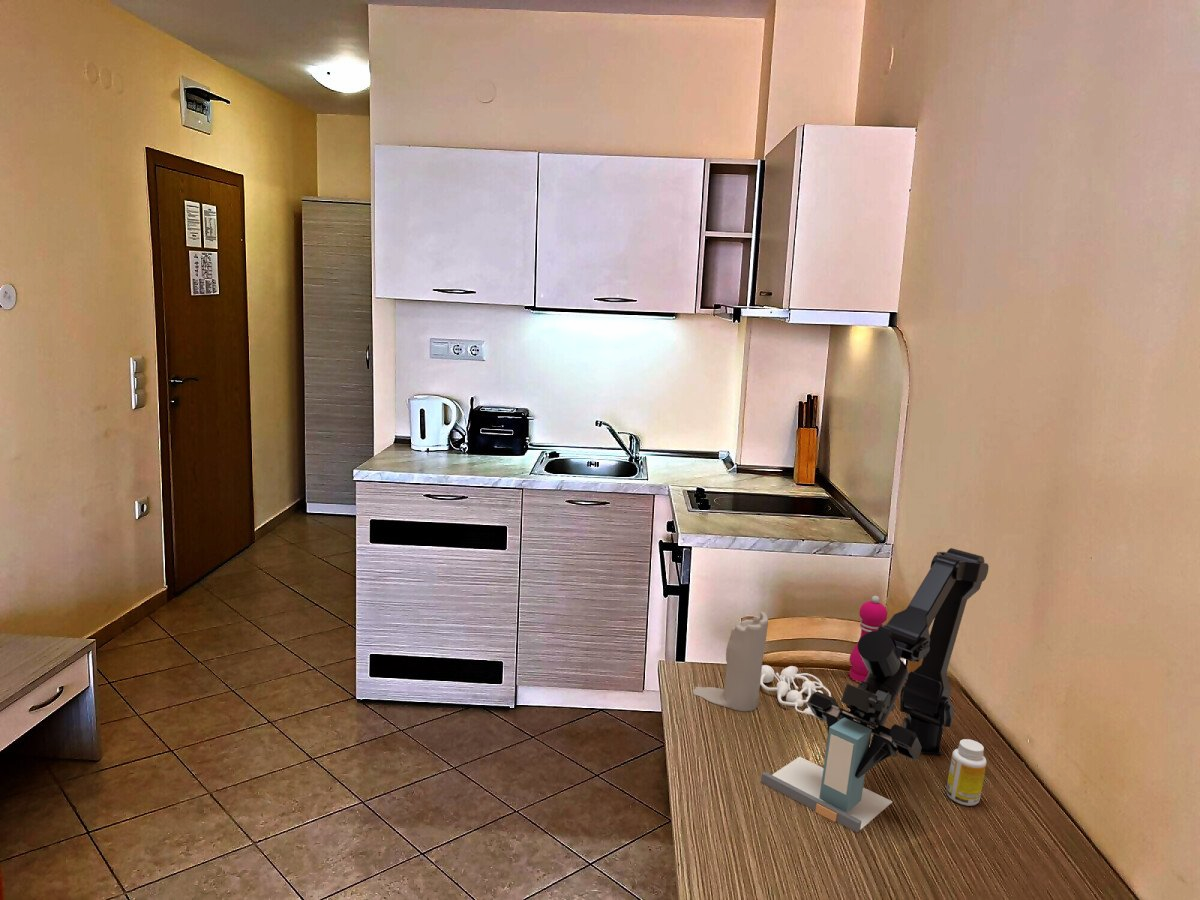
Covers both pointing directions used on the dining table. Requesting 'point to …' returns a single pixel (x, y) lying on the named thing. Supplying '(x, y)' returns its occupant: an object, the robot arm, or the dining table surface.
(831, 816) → the ticket
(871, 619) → the pepper mill
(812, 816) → the dining table surface
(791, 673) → the tangled rod sculpture
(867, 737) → the carton
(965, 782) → the supplement bottle
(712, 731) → the dining table surface
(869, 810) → the white base plate
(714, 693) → the candle
